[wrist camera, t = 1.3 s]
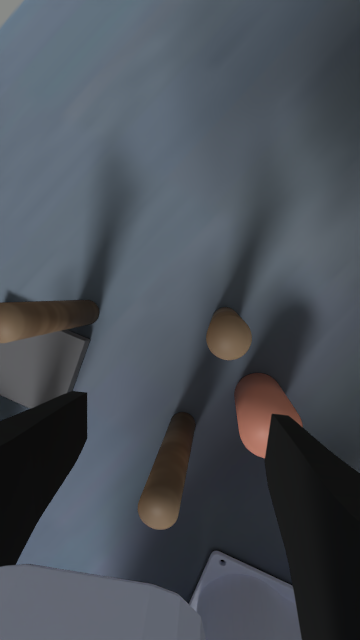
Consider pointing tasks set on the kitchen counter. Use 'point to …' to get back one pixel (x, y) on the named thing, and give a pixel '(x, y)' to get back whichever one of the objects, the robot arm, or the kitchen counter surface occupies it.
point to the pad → (41, 366)
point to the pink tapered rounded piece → (260, 409)
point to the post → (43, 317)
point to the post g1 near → (228, 335)
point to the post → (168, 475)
